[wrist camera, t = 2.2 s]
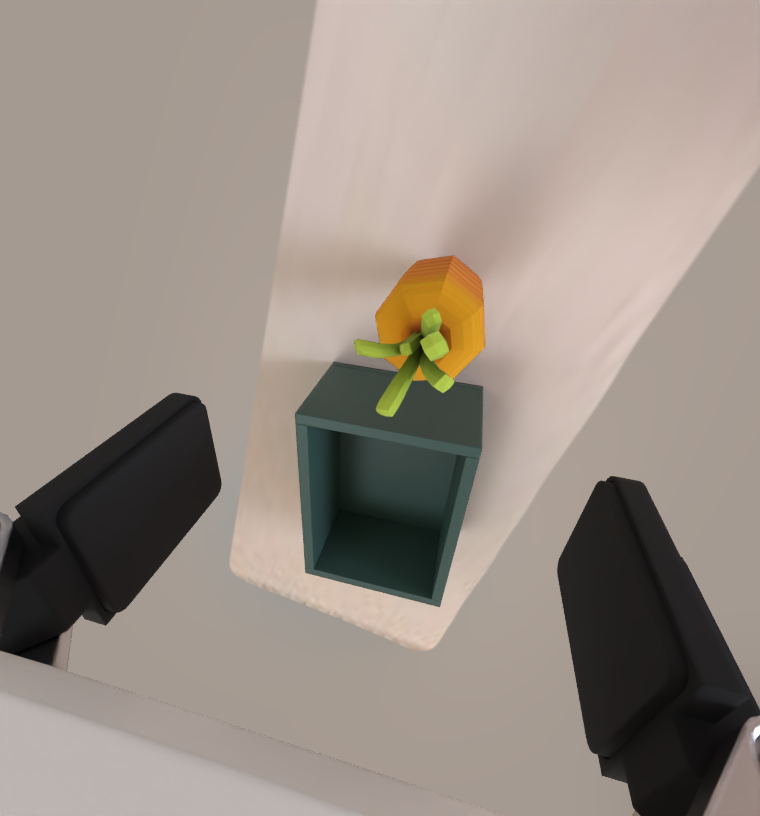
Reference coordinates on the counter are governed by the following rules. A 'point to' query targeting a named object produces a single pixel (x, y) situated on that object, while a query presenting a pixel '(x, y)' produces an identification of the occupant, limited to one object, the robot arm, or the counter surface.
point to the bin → (386, 480)
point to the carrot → (428, 327)
